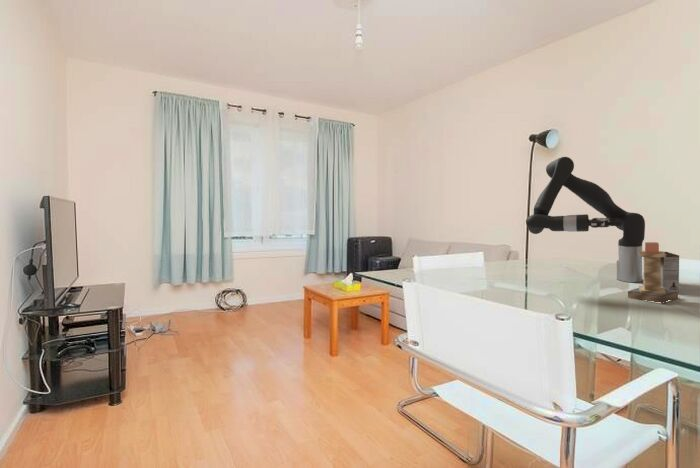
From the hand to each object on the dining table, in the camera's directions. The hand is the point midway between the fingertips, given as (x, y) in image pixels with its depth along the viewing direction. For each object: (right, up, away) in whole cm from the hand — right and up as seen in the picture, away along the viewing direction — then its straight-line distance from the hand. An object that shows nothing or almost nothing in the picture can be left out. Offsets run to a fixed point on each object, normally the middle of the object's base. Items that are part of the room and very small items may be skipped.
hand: (621, 222), depth 154 cm
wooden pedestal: (+11, -29, -3) cm, 31 cm away
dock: (+11, -32, -3) cm, 34 cm away
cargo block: (+9, -13, -5) cm, 16 cm away
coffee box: (+24, -30, +7) cm, 39 cm away
